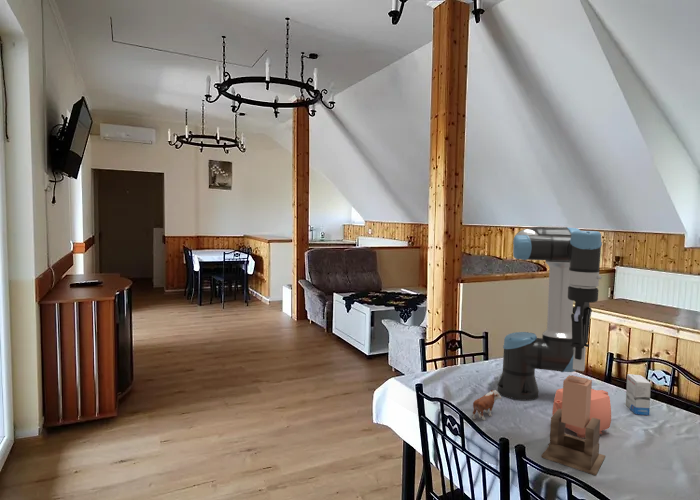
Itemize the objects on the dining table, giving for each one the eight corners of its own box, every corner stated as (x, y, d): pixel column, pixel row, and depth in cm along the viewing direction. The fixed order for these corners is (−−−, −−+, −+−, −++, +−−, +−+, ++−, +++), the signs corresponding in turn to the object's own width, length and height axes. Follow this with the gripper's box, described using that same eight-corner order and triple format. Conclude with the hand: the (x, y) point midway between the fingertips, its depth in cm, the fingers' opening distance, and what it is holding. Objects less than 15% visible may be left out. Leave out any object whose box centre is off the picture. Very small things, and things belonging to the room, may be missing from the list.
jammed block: (561, 422, 129) (563, 379, 128) (566, 415, 134) (569, 373, 133) (584, 428, 125) (587, 384, 124) (589, 421, 130) (592, 378, 129)
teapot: (570, 444, 138) (572, 399, 137) (538, 426, 149) (540, 384, 148) (621, 432, 146) (624, 389, 145) (587, 416, 158) (589, 376, 157)
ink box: (649, 415, 158) (652, 383, 157) (634, 414, 159) (636, 381, 158) (639, 405, 167) (641, 374, 166) (624, 404, 168) (626, 373, 167)
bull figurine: (502, 413, 159) (503, 390, 158) (478, 423, 151) (479, 399, 150) (492, 409, 162) (493, 386, 161) (467, 418, 154) (468, 395, 153)
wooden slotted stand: (541, 457, 130) (543, 418, 129) (553, 441, 139) (555, 405, 139) (595, 475, 121) (598, 434, 120) (605, 457, 131) (607, 418, 130)
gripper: (592, 290, 119) (587, 378, 121) (603, 285, 129) (598, 366, 131) (562, 287, 124) (557, 372, 125) (574, 282, 134) (570, 361, 135)
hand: (578, 369), depth 128 cm, fingers closed
